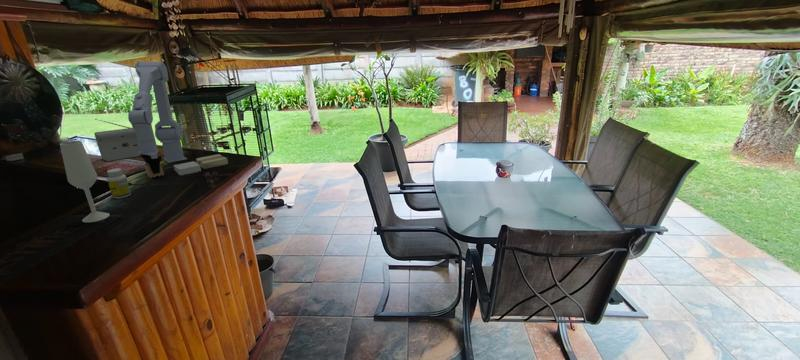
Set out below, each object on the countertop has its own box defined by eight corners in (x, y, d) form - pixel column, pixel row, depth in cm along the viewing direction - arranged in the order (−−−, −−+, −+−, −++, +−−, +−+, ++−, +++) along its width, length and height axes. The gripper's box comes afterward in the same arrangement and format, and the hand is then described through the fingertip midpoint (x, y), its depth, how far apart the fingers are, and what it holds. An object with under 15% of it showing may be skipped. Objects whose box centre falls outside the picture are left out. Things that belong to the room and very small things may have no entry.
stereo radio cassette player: (154, 150, 180) (144, 111, 173) (157, 154, 175) (147, 113, 168) (102, 159, 167) (88, 117, 160) (103, 163, 162) (90, 119, 154)
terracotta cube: (147, 175, 147) (144, 163, 145) (161, 172, 150) (158, 161, 148) (150, 178, 143) (147, 166, 142) (164, 175, 147) (161, 163, 145)
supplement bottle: (109, 197, 125) (101, 171, 122) (126, 192, 130) (118, 166, 126) (117, 200, 123) (109, 173, 119) (134, 194, 127) (127, 169, 124)
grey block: (174, 171, 151) (173, 165, 150) (195, 167, 157) (193, 161, 156) (180, 176, 146) (178, 169, 145) (201, 172, 151) (199, 165, 150)
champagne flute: (87, 224, 106) (60, 147, 97) (78, 219, 109) (51, 143, 101) (113, 215, 111) (89, 141, 103) (104, 211, 115) (80, 138, 106)
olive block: (197, 164, 161) (195, 158, 160) (220, 160, 167) (218, 154, 166) (204, 169, 154) (203, 163, 153) (228, 164, 161) (227, 158, 160)
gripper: (130, 138, 143) (139, 169, 148) (138, 144, 134) (147, 178, 139) (150, 135, 148) (158, 166, 153) (160, 141, 139) (168, 174, 143)
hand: (154, 171), depth 146 cm, fingers closed on terracotta cube, 5 cm apart
